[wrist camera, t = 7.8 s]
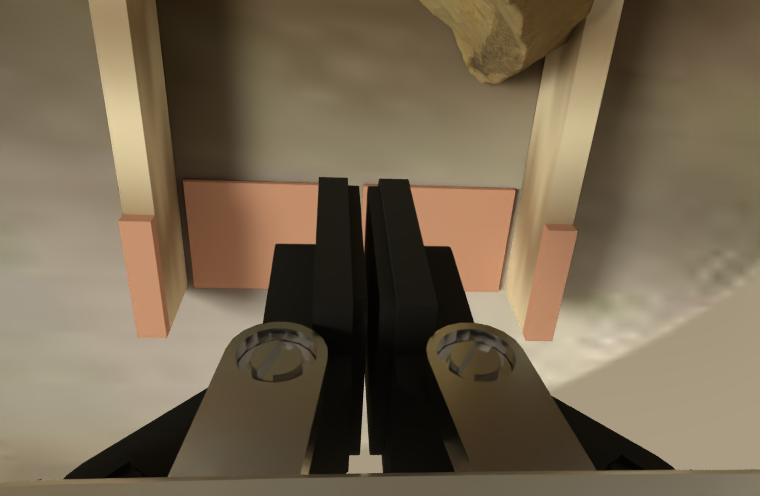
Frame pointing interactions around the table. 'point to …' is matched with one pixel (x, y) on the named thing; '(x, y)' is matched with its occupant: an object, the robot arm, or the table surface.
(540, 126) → the box
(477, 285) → the pads
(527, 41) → the rock
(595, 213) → the table surface
